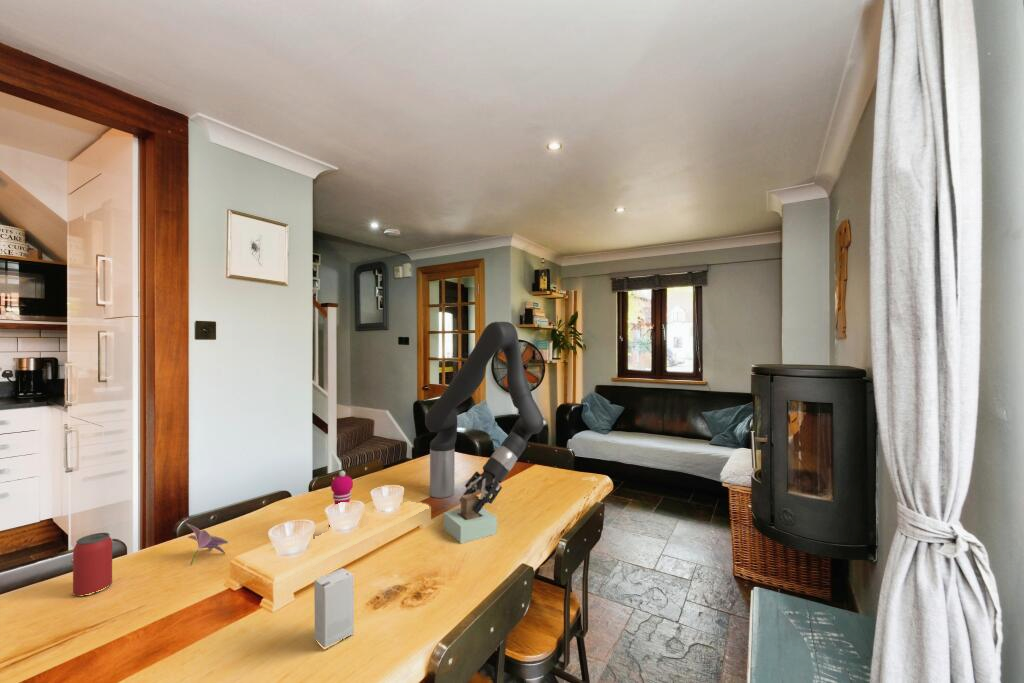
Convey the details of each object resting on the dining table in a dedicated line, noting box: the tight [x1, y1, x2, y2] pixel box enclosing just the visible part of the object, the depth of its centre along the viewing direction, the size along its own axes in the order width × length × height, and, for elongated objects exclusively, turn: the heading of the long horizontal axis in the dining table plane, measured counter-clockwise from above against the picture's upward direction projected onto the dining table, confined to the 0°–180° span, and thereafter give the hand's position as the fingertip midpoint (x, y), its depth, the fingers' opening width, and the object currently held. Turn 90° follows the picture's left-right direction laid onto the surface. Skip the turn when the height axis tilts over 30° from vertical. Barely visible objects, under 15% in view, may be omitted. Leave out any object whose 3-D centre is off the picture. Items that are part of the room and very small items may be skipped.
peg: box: [460, 493, 480, 520], centre depth 132 cm, size 4×4×10 cm
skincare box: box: [313, 568, 355, 647], centre depth 83 cm, size 6×4×12 cm
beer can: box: [72, 532, 113, 596], centre depth 100 cm, size 7×7×12 cm
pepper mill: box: [328, 470, 354, 528], centre depth 126 cm, size 7×7×20 cm
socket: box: [443, 507, 498, 544], centre depth 131 cm, size 12×12×5 cm
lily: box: [185, 522, 229, 566], centre depth 114 cm, size 12×12×10 cm
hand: (467, 507), depth 131 cm, fingers open, 8 cm apart
